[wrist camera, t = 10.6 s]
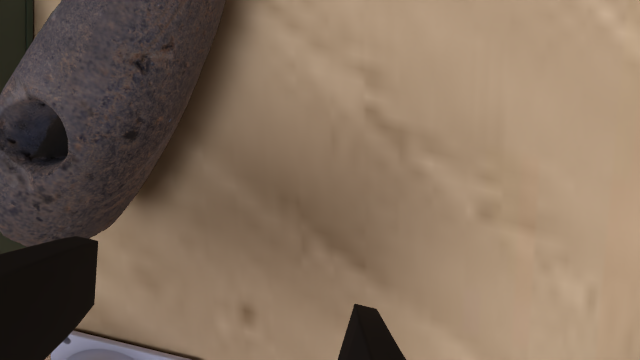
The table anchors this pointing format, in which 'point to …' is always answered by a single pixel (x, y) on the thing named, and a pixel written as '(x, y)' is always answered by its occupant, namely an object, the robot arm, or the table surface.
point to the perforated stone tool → (95, 111)
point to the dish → (13, 58)
